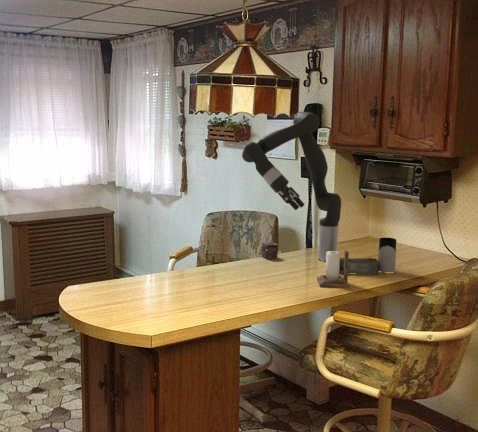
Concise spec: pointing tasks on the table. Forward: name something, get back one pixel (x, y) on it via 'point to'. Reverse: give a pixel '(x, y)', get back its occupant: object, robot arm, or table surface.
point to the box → (269, 250)
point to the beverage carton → (360, 266)
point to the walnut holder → (342, 280)
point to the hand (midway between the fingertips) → (300, 207)
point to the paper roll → (332, 265)
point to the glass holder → (387, 255)
